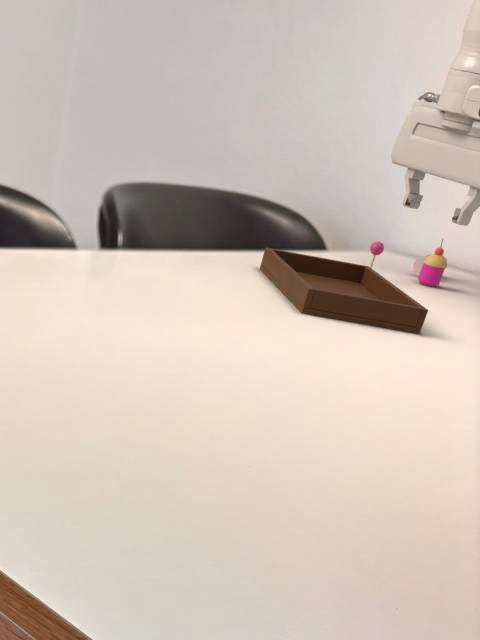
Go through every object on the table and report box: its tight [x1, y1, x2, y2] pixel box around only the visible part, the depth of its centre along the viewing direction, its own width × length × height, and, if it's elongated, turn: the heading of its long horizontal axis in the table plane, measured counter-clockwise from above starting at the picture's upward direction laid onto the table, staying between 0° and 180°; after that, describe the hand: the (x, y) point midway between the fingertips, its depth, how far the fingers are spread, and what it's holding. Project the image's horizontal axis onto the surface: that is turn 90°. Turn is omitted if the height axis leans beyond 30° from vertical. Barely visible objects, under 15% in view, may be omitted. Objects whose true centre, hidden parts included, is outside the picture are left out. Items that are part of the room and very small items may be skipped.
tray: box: [259, 247, 429, 334], centre depth 124 cm, size 13×21×3 cm, turn 0°
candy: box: [369, 237, 448, 288], centre depth 145 cm, size 18×8×6 cm, turn 139°
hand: (434, 215), depth 142 cm, fingers open, 8 cm apart
